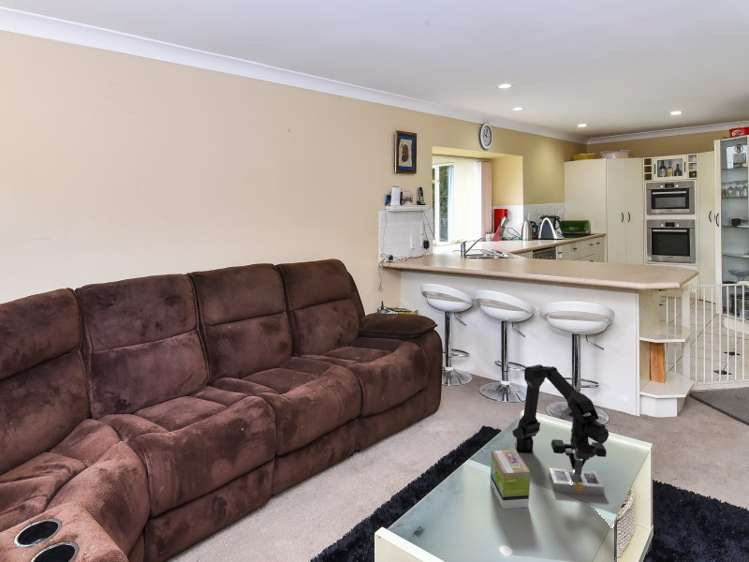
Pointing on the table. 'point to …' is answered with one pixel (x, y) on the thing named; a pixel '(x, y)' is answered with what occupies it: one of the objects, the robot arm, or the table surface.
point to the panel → (577, 465)
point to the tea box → (510, 479)
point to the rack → (576, 482)
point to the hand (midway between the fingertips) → (576, 468)
